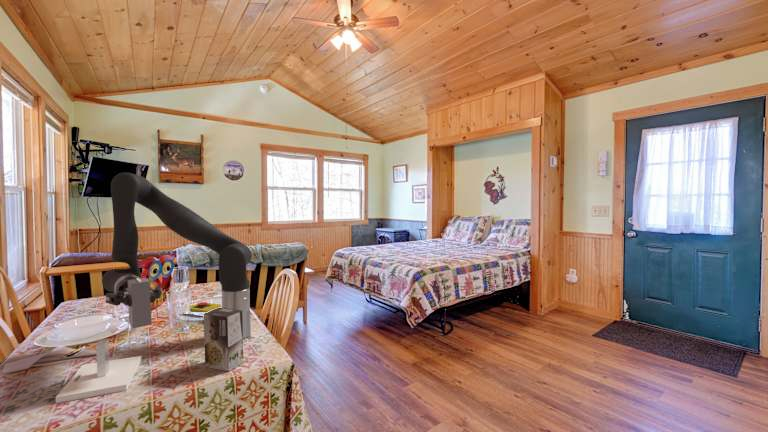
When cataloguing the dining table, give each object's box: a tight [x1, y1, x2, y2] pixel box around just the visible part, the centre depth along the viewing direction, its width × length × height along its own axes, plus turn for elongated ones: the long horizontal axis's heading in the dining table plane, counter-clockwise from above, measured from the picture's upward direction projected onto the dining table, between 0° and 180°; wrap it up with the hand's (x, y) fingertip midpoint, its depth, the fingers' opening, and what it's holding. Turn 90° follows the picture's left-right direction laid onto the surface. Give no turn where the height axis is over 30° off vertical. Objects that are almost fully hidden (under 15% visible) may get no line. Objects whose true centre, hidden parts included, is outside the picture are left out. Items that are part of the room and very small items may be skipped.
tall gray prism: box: [128, 277, 152, 329], centre depth 96 cm, size 6×4×12 cm
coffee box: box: [203, 307, 244, 372], centre depth 103 cm, size 9×6×16 cm
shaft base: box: [55, 355, 142, 404], centre depth 95 cm, size 18×14×2 cm
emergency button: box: [189, 301, 222, 312], centre depth 151 cm, size 9×4×15 cm
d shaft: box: [95, 338, 110, 378], centre depth 95 cm, size 3×2×9 cm, turn 25°
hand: (141, 300), depth 94 cm, fingers closed on tall gray prism, 4 cm apart
